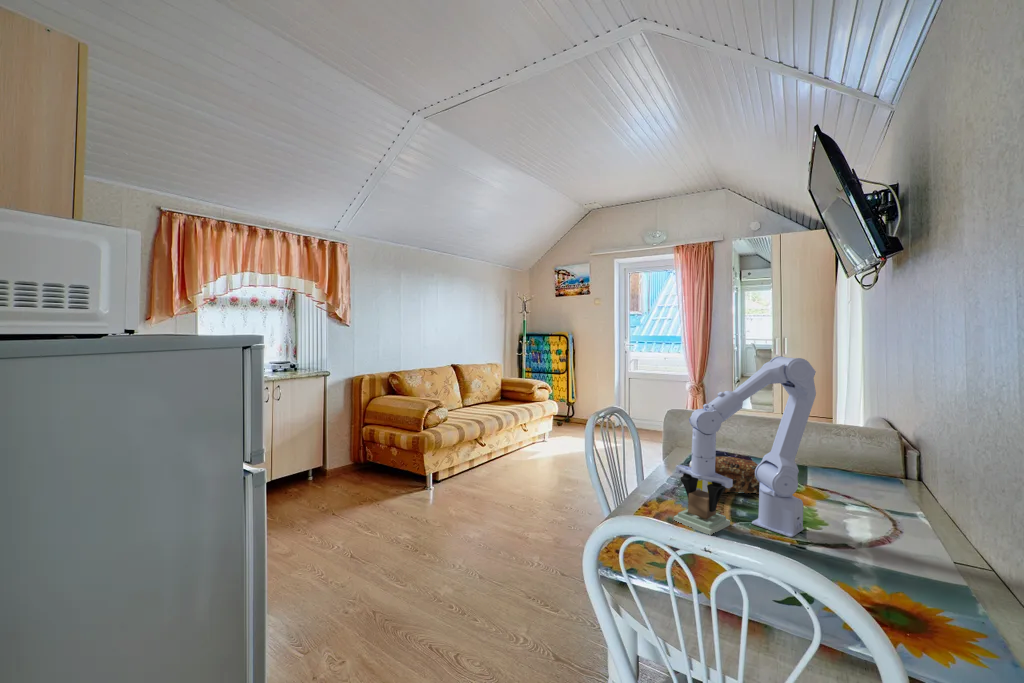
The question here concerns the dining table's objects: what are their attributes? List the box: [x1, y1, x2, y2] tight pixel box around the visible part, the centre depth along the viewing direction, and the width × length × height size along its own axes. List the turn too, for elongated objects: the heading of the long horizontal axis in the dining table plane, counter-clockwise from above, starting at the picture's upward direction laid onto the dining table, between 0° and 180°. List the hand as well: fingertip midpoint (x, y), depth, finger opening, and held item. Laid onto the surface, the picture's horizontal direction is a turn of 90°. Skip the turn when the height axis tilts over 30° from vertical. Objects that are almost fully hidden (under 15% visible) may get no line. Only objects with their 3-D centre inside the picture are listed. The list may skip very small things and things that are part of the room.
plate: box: [673, 508, 731, 536], centre depth 114 cm, size 10×10×2 cm
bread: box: [715, 455, 760, 495], centre depth 141 cm, size 19×11×10 cm, turn 81°
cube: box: [687, 490, 717, 519], centre depth 114 cm, size 5×5×5 cm
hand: (702, 507), depth 114 cm, fingers closed on cube, 5 cm apart
